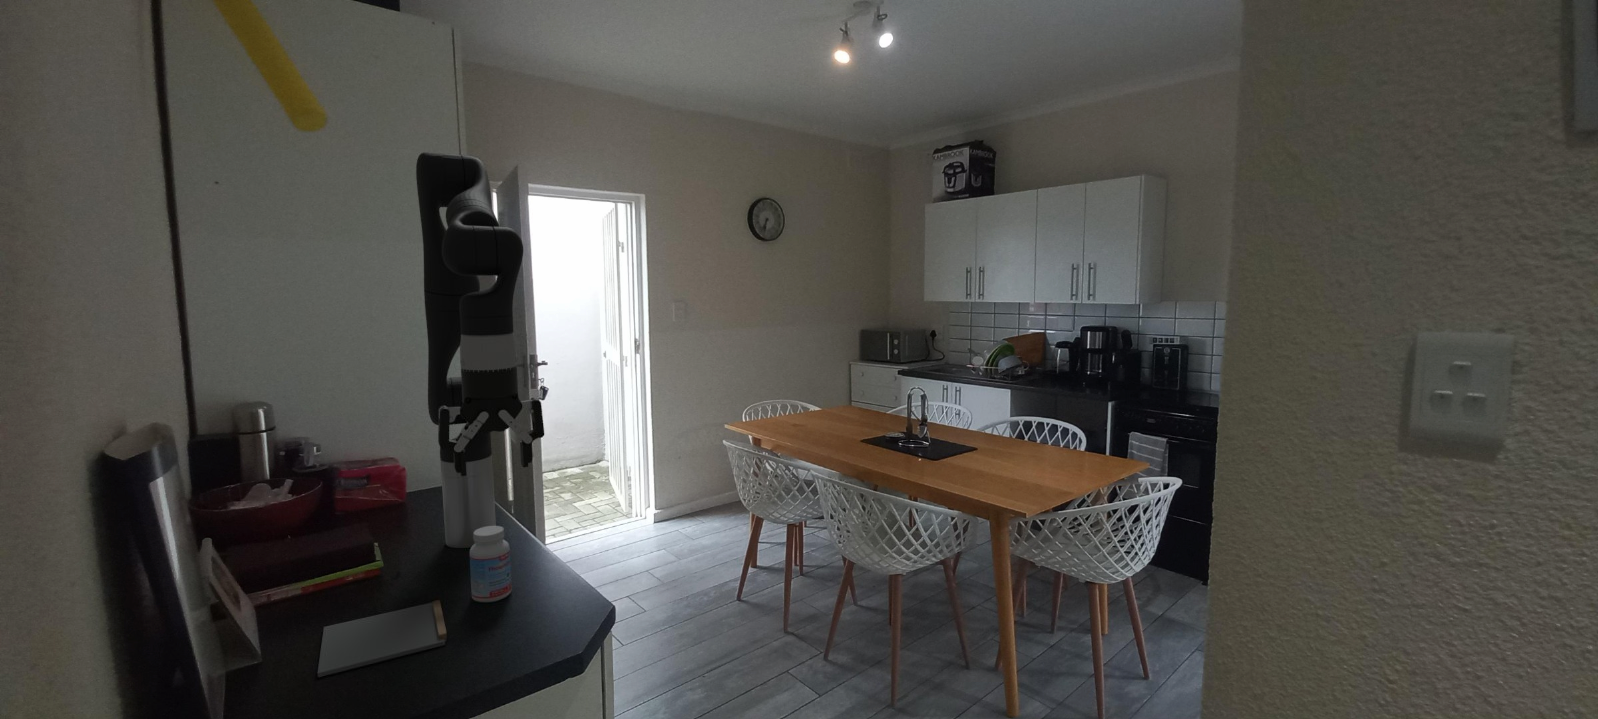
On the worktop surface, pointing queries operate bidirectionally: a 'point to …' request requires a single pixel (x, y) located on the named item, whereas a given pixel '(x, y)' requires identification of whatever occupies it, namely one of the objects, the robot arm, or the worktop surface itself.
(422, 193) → the robot arm
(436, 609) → the bar
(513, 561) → the worktop surface
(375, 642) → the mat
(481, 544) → the pill bottle
